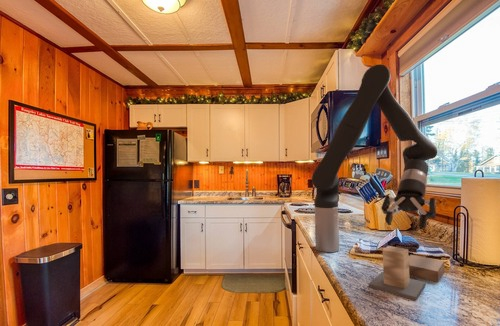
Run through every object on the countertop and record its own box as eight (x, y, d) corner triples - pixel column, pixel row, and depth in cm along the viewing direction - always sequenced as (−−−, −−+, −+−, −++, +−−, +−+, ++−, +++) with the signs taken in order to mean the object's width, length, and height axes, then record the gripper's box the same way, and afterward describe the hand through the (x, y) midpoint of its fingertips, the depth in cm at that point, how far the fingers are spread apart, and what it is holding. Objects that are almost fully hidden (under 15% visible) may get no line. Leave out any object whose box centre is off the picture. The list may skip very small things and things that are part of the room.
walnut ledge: (401, 273, 77) (401, 263, 77) (410, 263, 85) (410, 254, 85) (438, 282, 71) (437, 271, 71) (444, 270, 78) (444, 261, 78)
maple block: (383, 283, 69) (382, 249, 69) (389, 277, 72) (388, 245, 73) (404, 288, 65) (403, 253, 66) (409, 282, 69) (408, 249, 69)
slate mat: (368, 286, 69) (368, 283, 69) (382, 274, 77) (382, 271, 77) (415, 300, 61) (415, 297, 61) (425, 285, 69) (425, 282, 69)
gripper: (386, 177, 88) (375, 215, 79) (436, 178, 78) (430, 221, 69) (391, 192, 91) (381, 229, 83) (440, 194, 81) (435, 236, 73)
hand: (404, 225), depth 76 cm, fingers open, 8 cm apart
